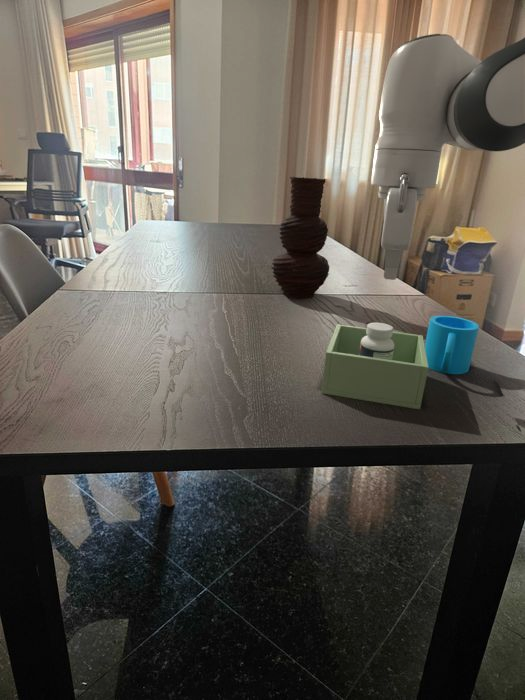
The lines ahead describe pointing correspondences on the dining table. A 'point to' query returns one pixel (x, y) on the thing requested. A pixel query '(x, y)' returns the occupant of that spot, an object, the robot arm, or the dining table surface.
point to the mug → (450, 344)
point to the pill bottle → (377, 341)
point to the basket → (376, 369)
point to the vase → (302, 241)
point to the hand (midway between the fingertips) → (390, 272)
